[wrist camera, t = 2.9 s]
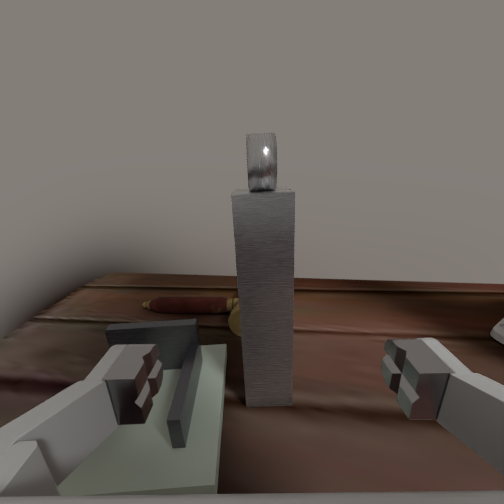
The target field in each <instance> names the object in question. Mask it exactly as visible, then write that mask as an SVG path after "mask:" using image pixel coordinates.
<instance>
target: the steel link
mask: <svg viewBox="0 0 504 504" xmlns="http://www.w3.org/2000/svg"><path fill="white" fill-rule="evenodd" d="M246 145H247V168H248V185H249V189H236V190H235V191H234V192H233V193H232V195H231V198H232V211H233V226H234V239H235V253H236V268H237V282H238V296H239V311H240V325H241V339H242V353H243V367H244V381H245V395H246V407H265V406H292V383H293V308H294V233H295V192H294V191H293V190H291V189H289V188H288V187H276V183H277V147H276V136H275V133H258V134H246Z"/></svg>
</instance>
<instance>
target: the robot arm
mask: <svg viewBox="0 0 504 504" xmlns="http://www.w3.org/2000/svg"><path fill="white" fill-rule="evenodd" d="M490 335H491V336H492V337H493V338H494V339H495V340H497V341H498V342H500V343H502V344H503V345H504V318H503V319H502V320H501V321H500V322H498V323H497V324H496V325H495V326H494V327H493V329H492V331H491V333H490ZM384 349H385V351H386V352H387V355H386V356H385V357H384V358H383V359H382V373H383V377H384V380H385V382H386V384H387V385H388V387H389V388H390V389H391V390H392V391H394V392H395V393H397V394H398V395H397V402H398V403H399V405H400V406H401V408H402V410H403V411H404V413H405V414H406V416H407V417H408V419H417V420H437V422H438V423H440V424H441V425H442V426H443V427H445V428H446V429H447V430H448V431H449V432H451V433H452V434H453V435H454V436H456V437H457V438H458V439H459V440H461V441H462V442H463V443H464V444H466V445H467V446H468V447H469V448H471V449H472V450H473V451H474V452H476V453H477V454H478V455H479V456H481V457H482V458H483V459H484V460H486V461H487V462H488V463H489V464H491V465H492V466H493V467H494V468H496V469H497V470H498V471H499V472H501V473H502V474H503V475H504V385H501V384H499V383H497V382H495V381H493V380H491V379H489V378H487V377H485V376H483V375H481V374H479V373H472V372H471V371H470V370H469V369H468V368H467V367H466V366H465V365H463V364H462V363H461V362H460V361H459V360H458V359H457V358H456V357H455V356H454V355H453V354H451V353H450V352H449V351H448V350H447V349H446V348H445V347H444V346H443V345H442V344H441V343H440V342H438V341H437V340H436V339H434V338H417V339H388V340H387V341H386V343H385V348H384ZM159 355H160V350H159V346H158V345H156V344H129V345H127V344H124V345H114V346H112V347H111V348H110V349H109V350H108V351H107V353H106V354H105V355H104V356H103V357H102V359H101V360H100V361H99V362H98V364H97V365H96V366H95V367H94V369H93V370H92V371H91V372H90V374H89V375H88V376H87V377H86V378H85V380H84V381H78V382H76V383H75V384H73V385H71V386H70V387H68V388H66V389H65V390H63V391H61V392H60V393H58V394H56V395H55V396H53V397H51V398H50V399H48V400H46V401H45V402H43V403H41V404H40V405H38V406H36V407H35V408H33V409H31V410H30V411H28V412H26V413H25V414H23V415H21V416H20V417H18V418H16V419H15V420H13V421H11V422H10V423H8V424H6V425H5V426H3V427H1V428H0V504H504V490H500V491H421V492H346V493H267V494H184V495H102V496H61V494H60V492H59V490H58V487H57V486H59V485H60V484H61V483H62V482H63V481H64V480H65V479H66V478H67V477H68V476H69V475H70V474H71V473H72V472H73V471H74V470H75V469H76V468H77V467H78V466H79V465H80V464H81V463H82V462H83V461H84V460H85V459H86V458H87V457H88V456H89V455H90V454H91V453H92V452H93V451H94V450H95V449H96V448H97V447H98V446H99V445H100V444H101V443H102V442H103V441H104V440H105V439H106V438H107V437H108V436H109V435H110V434H111V433H112V432H113V431H114V430H115V429H116V428H117V427H118V425H130V424H145V423H146V420H147V418H148V416H149V413H150V411H151V409H152V406H153V400H152V398H153V397H154V396H155V395H156V394H157V393H158V392H159V390H160V387H161V385H162V380H163V365H162V363H161V362H160V361H159V360H158V357H159Z"/></svg>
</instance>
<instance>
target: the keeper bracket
mask: <svg viewBox="0 0 504 504" xmlns="http://www.w3.org/2000/svg"><path fill="white" fill-rule="evenodd" d="M105 333H106V336H107V340H108V343H109V347H110V348H111V347H112V346H114V345H124V344H127V345H129V344H156V345H158V346H159V350H160V355H159V357H158V360H159V361H160V362H161V363H162V365H163V380H162V385H161V387H160V390H159V392H158V393H157V394H156V395H155V396H154V397H153V398H152V400H153V406H152V409H151V411H150V413H149V416H148V418H147V420H146V423H145V424H130V425H118V427H117V428H116V429H115V430H114V431H113V432H112V433H111V434H110V435H109V436H108V437H107V438H106V439H105V440H104V441H103V442H102V443H101V444H100V445H99V446H98V447H97V448H96V449H95V450H94V451H93V452H92V453H91V454H90V455H89V456H88V457H87V458H86V459H85V460H84V461H83V462H82V463H81V464H80V465H79V466H78V467H77V468H76V469H75V470H74V471H73V472H72V473H71V474H70V475H69V476H68V477H67V478H66V479H65V480H64V481H63V482H62V483H61V484H60V485H59V486H57V487H58V490H59V492H60V494H61V496H102V495H184V494H217V489H218V475H219V461H220V447H221V433H222V419H223V405H224V391H225V378H226V364H227V346H226V344H216V345H200V337H199V330H198V323H197V319H184V320H169V321H153V322H137V323H121V324H110V325H109V326H108V327H107V328H106V329H105Z"/></svg>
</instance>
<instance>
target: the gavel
mask: <svg viewBox="0 0 504 504" xmlns="http://www.w3.org/2000/svg"><path fill="white" fill-rule="evenodd" d="M142 306H143V307H144V308H148V309H149V310H153V311H155V312H158V313H226V312H231V314H230V316H229V318H228V325H229V328H230V330H231V331H232V332H233V333H234V334H235V335H237V336H241V325H240V311H239V298H235V299H234V298H225V297H159V298H157V299H154V300H150V301H149V302H144V303H143V304H142Z"/></svg>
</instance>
